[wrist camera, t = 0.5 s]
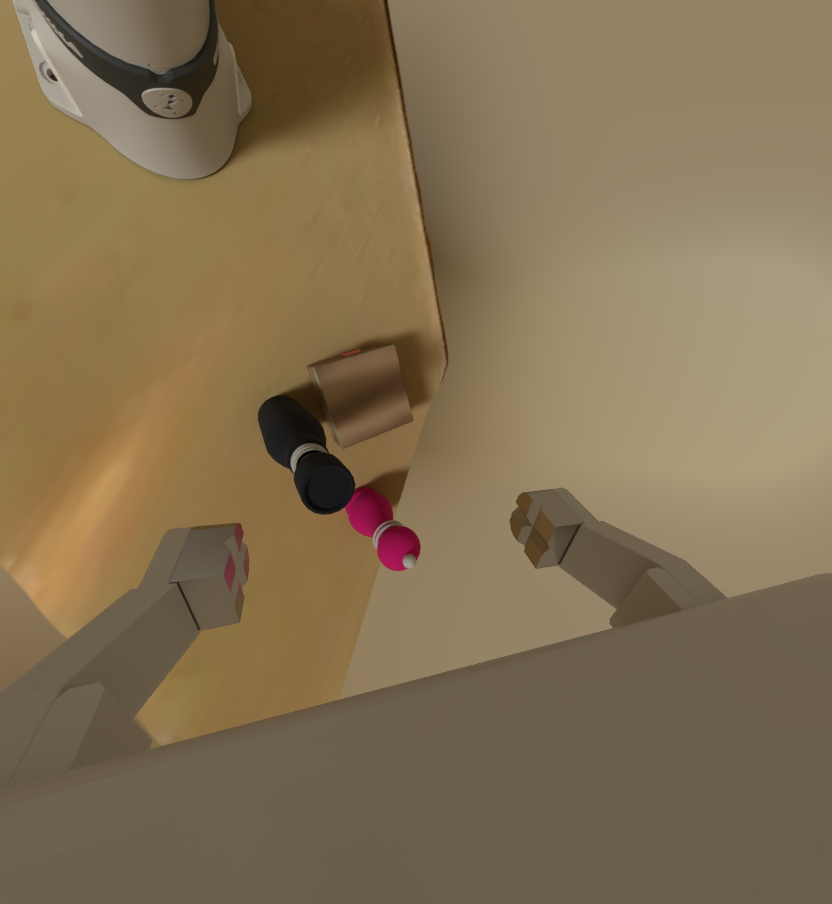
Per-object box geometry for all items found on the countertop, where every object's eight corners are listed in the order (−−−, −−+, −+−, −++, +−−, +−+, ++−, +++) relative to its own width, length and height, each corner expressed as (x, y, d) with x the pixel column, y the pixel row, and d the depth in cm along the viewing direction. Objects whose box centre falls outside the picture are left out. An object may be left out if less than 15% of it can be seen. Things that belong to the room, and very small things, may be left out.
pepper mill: (367, 475, 57) (421, 527, 41) (387, 503, 61) (445, 562, 44) (334, 502, 56) (375, 567, 39) (356, 529, 59) (404, 600, 42)
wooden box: (304, 362, 48) (312, 363, 43) (381, 340, 52) (397, 338, 47) (332, 439, 53) (342, 449, 48) (401, 413, 57) (416, 419, 52)
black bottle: (249, 405, 46) (262, 471, 21) (293, 389, 48) (354, 431, 23) (270, 445, 49) (304, 547, 23) (311, 428, 51) (383, 505, 25)
